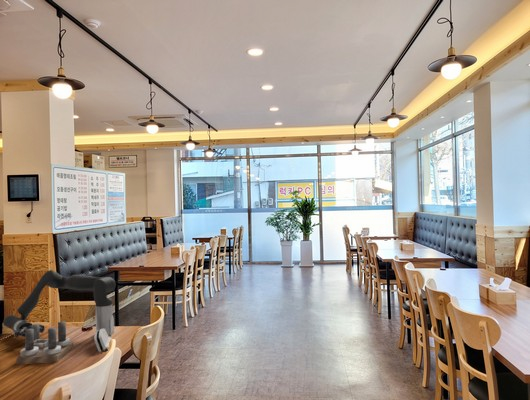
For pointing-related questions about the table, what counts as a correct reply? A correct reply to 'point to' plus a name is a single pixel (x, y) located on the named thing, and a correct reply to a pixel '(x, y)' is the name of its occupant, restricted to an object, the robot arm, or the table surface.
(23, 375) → the table surface
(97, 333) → the white arched grooved block
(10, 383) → the table surface
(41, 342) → the upturned partly assembled table
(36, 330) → the loose leg
